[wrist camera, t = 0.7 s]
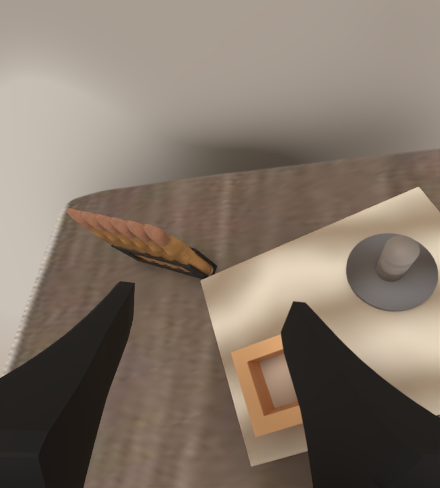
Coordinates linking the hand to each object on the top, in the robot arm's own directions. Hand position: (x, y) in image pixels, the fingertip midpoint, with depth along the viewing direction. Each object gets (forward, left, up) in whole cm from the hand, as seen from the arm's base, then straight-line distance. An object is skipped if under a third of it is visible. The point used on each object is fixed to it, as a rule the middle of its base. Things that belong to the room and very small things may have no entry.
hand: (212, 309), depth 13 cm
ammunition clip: (+12, +8, -16) cm, 21 cm away
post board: (0, -6, -15) cm, 17 cm away
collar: (-3, 0, -14) cm, 14 cm away
